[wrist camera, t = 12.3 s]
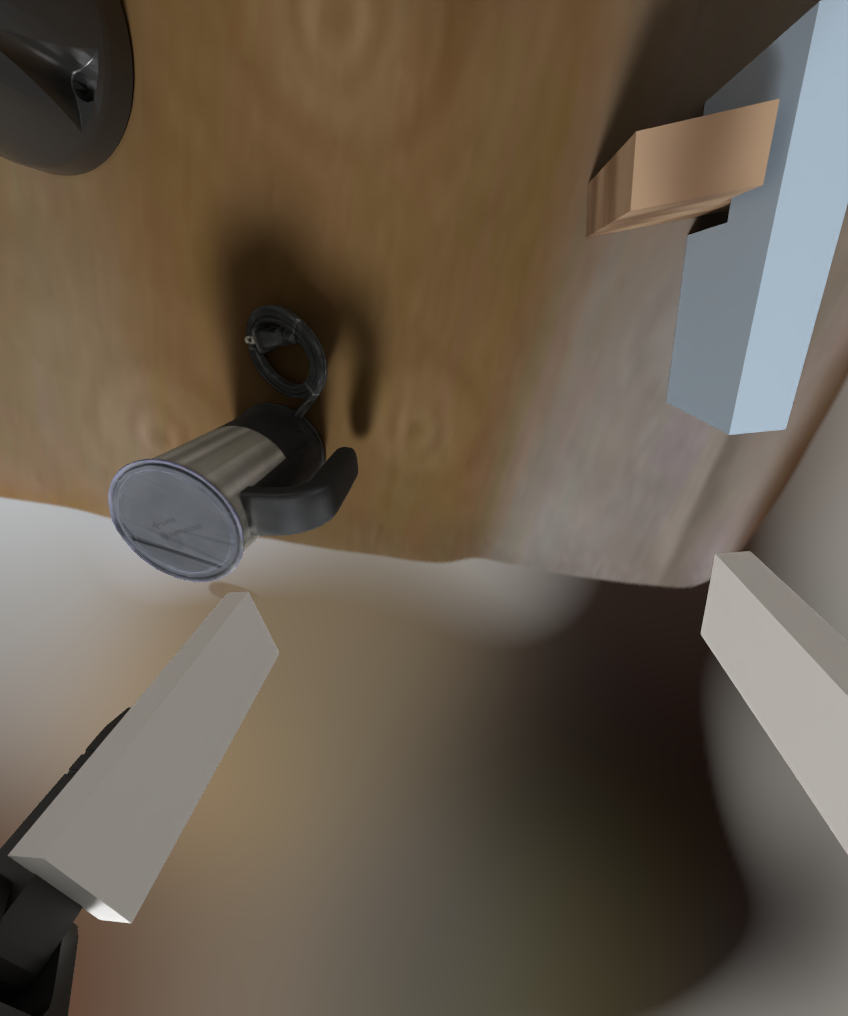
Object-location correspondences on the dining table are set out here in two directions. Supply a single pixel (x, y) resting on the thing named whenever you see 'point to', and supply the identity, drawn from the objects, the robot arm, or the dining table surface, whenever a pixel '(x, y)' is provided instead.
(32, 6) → the robot arm
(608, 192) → the light brown wooden block
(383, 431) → the dining table surface
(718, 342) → the pale blue flat block
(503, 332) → the dining table surface
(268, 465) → the milk frother
